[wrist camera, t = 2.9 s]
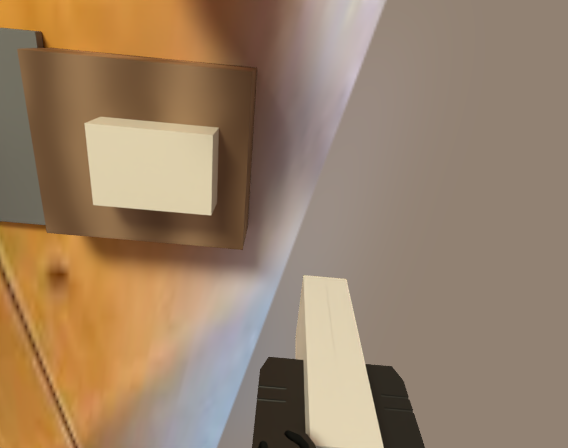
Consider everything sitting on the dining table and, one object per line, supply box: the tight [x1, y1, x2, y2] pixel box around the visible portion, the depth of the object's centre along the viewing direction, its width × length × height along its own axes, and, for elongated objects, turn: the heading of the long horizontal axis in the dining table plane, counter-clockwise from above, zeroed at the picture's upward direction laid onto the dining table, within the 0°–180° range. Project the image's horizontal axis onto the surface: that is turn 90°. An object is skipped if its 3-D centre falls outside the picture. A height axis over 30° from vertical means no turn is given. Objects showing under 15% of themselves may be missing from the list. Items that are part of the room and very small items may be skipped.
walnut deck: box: [17, 48, 257, 250], centre depth 31 cm, size 15×13×4 cm
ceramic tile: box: [84, 117, 219, 215], centre depth 28 cm, size 8×6×2 cm
